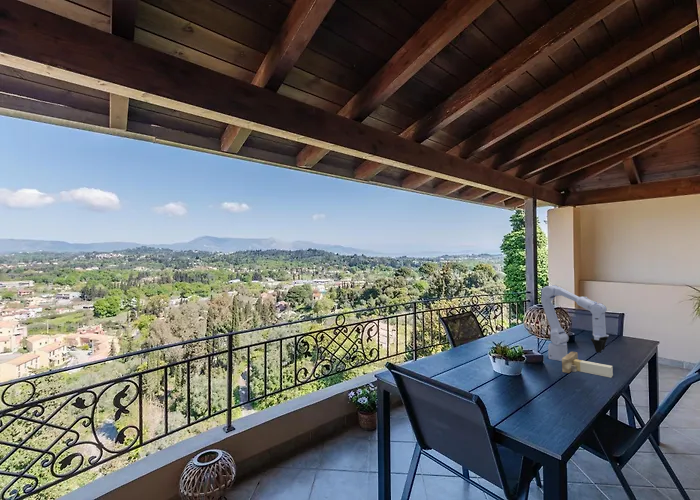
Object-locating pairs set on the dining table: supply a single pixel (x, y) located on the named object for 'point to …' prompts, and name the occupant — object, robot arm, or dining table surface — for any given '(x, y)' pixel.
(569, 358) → the post
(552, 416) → the dining table surface
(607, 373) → the rail
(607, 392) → the dining table surface
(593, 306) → the robot arm
